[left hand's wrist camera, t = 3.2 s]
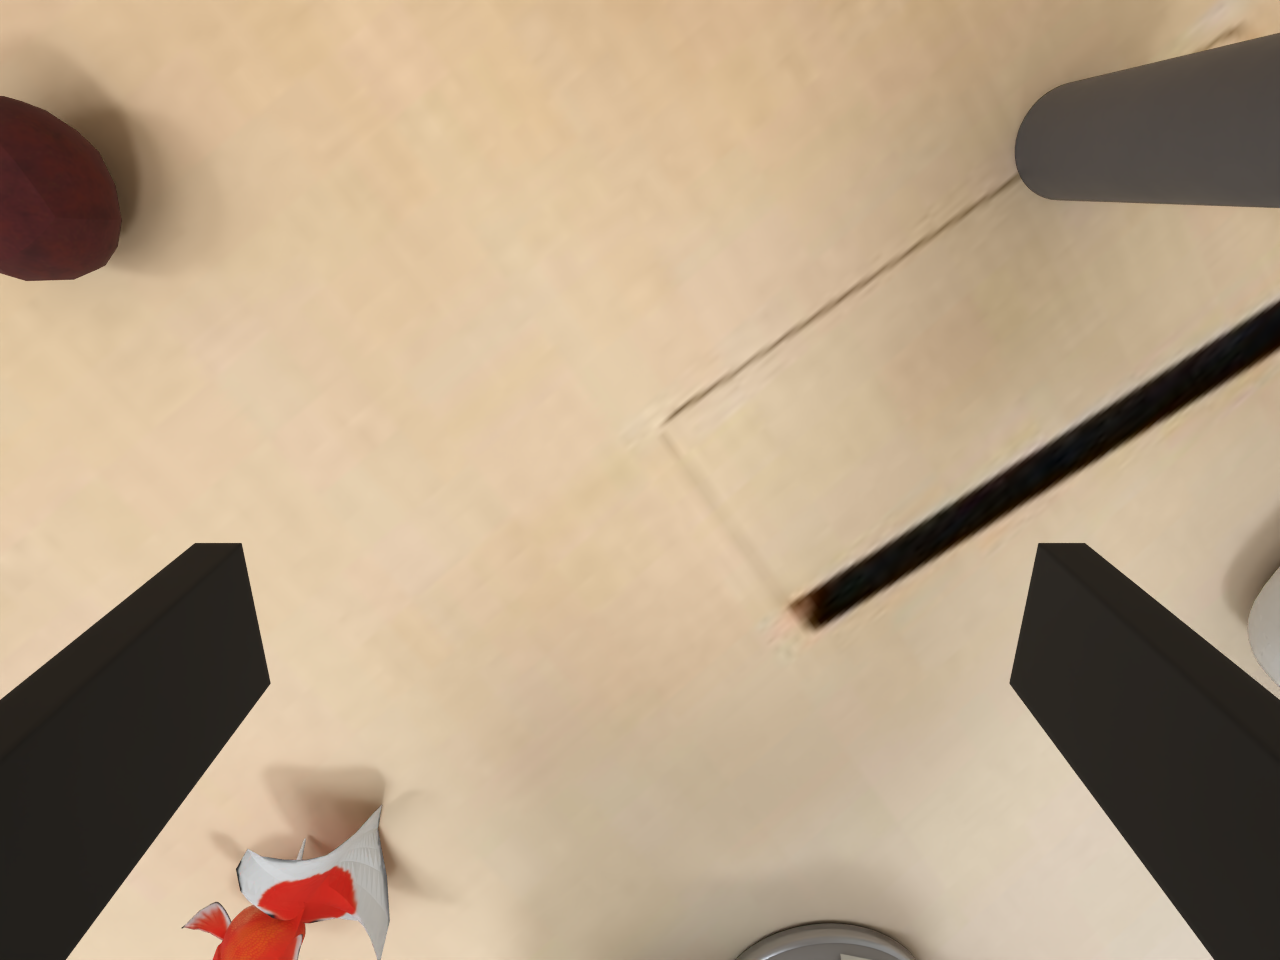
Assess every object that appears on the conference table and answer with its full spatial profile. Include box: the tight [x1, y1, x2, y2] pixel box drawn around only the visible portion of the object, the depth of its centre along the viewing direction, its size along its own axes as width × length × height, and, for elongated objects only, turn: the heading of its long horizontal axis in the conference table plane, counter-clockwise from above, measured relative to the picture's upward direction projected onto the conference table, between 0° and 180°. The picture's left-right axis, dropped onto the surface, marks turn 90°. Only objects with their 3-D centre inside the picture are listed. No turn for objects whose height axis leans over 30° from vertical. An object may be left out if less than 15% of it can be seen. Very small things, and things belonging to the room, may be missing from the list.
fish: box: [182, 805, 390, 960], centre depth 48 cm, size 11×16×10 cm
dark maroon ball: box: [0, 96, 122, 281], centre depth 33 cm, size 7×8×7 cm
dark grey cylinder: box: [1015, 33, 1280, 208], centre depth 27 cm, size 5×5×19 cm
